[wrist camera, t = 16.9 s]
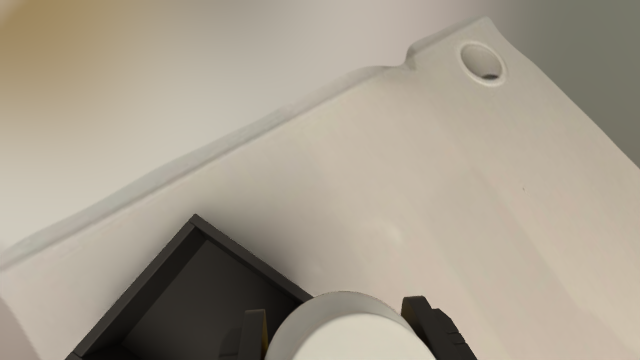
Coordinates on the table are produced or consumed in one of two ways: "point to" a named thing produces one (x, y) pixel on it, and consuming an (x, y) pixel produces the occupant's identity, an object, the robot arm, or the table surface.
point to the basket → (190, 301)
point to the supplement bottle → (346, 331)
